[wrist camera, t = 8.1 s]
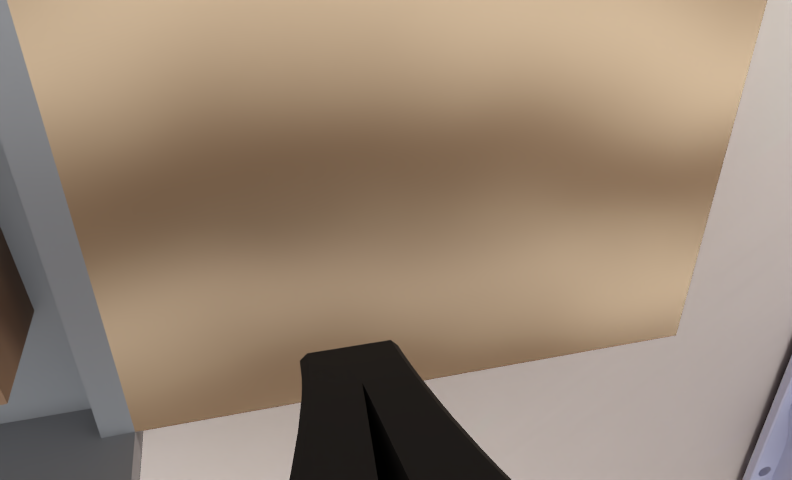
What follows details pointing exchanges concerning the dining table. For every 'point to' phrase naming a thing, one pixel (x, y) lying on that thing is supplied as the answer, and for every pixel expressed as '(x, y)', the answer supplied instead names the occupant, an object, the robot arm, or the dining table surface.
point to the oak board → (380, 178)
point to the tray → (53, 312)
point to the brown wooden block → (11, 319)
